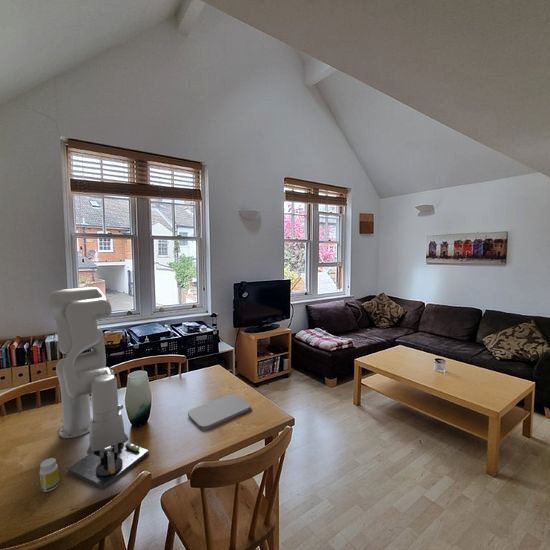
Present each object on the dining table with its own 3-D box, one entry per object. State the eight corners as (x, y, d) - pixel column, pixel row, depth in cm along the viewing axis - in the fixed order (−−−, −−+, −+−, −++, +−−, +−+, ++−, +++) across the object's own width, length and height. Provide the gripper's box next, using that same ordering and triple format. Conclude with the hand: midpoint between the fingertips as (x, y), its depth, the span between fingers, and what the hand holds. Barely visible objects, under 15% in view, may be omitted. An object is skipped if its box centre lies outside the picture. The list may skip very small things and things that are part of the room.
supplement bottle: (62, 480, 100) (60, 456, 99) (52, 492, 95) (50, 467, 94) (47, 480, 100) (45, 457, 99) (37, 492, 95) (34, 467, 94)
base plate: (67, 472, 103) (66, 463, 103) (114, 441, 119) (114, 433, 119) (103, 490, 96) (102, 480, 95) (148, 454, 112) (148, 445, 112)
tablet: (185, 416, 137) (185, 411, 137) (233, 397, 154) (233, 392, 154) (202, 433, 125) (202, 428, 125) (253, 410, 142) (253, 405, 142)
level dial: (93, 466, 103) (92, 448, 103) (119, 456, 109) (118, 438, 108) (99, 482, 97) (97, 462, 96) (126, 469, 102) (125, 450, 101)
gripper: (129, 400, 109) (132, 448, 111) (76, 415, 99) (80, 467, 101) (134, 409, 103) (137, 460, 105) (78, 426, 93) (82, 482, 95)
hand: (109, 463), depth 103 cm, fingers closed on level dial, 2 cm apart
